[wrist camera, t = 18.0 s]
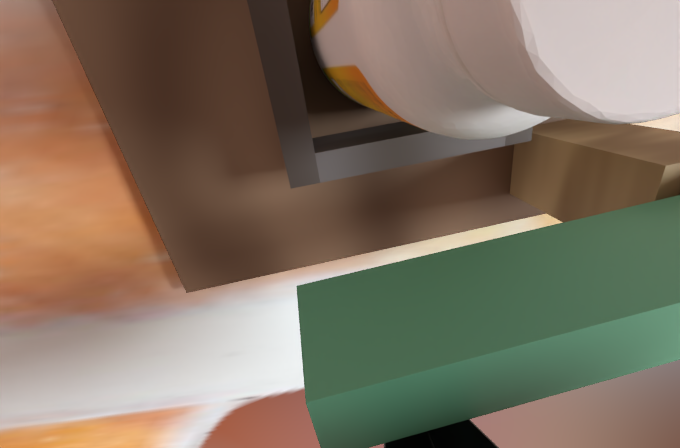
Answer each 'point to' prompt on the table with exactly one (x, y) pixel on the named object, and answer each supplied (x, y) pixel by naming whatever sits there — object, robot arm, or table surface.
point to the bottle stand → (318, 145)
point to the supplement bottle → (502, 60)
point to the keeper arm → (490, 325)
